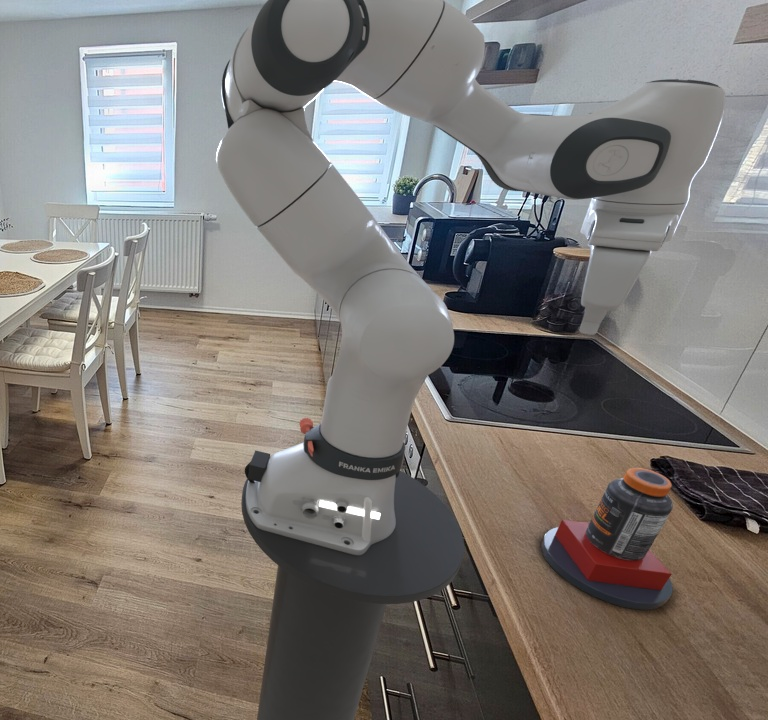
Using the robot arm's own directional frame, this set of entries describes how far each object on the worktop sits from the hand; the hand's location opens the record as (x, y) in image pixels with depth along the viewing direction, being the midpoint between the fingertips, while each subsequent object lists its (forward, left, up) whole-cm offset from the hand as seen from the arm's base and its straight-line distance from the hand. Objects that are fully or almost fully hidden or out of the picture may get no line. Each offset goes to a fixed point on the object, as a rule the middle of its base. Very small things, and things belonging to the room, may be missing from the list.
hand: (589, 322), depth 70 cm
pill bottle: (+2, -17, -25) cm, 30 cm away
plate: (+2, -17, -29) cm, 34 cm away
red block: (+2, -17, -28) cm, 33 cm away
